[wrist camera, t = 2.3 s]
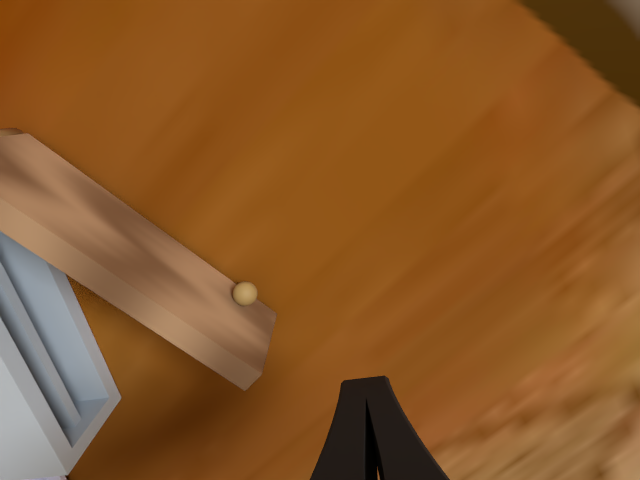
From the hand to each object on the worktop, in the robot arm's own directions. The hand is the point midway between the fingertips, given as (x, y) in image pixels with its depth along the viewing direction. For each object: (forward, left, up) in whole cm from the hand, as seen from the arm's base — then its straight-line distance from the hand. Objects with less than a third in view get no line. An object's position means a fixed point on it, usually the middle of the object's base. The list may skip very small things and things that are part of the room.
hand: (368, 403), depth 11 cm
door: (+4, +9, -8) cm, 13 cm away
